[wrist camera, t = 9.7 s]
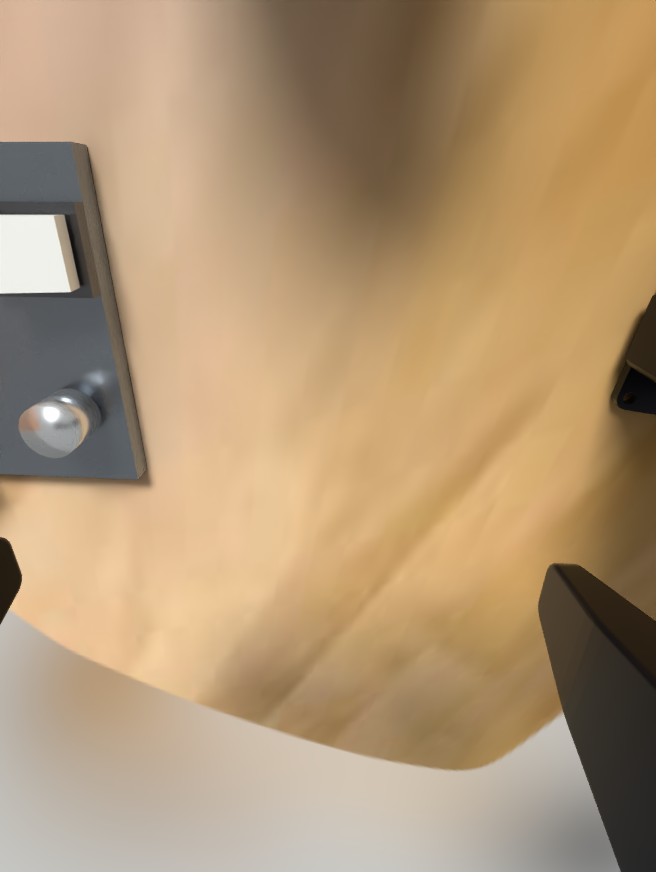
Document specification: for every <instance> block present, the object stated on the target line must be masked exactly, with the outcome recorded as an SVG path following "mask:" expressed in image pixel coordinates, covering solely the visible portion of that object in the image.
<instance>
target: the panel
mask: <svg viewBox="0 0 656 872" xmlns="http://www.w3.org/2000/svg"><path fill="white" fill-rule="evenodd" d="M0 215H64V216H65V220H66V225H67V230H68V234H69V239H70V243H71V248H72V253H73V257H74V262H75V266H76V271H77V276H78V280H79V285H80V288H78V289H76V290H74V291H72V292H54V293H0V474H10V475H35V476H60V477H85V478H110V479H135V480H138V479H139V478H140V477H141V475H142V474H143V473H144V472H145V471H146V469H147V466H146V461H145V455H144V450H143V445H142V439H141V434H140V429H139V423H138V418H137V413H136V407H135V402H134V397H133V391H132V386H131V381H130V375H129V370H128V365H127V359H126V354H125V349H124V343H123V338H122V333H121V327H120V322H119V317H118V311H117V306H116V301H115V295H114V290H113V285H112V279H111V274H110V269H109V263H108V258H107V253H106V247H105V242H104V237H103V231H102V226H101V221H100V215H99V210H98V205H97V199H96V194H95V189H94V183H93V178H92V173H91V167H90V162H89V157H88V151H87V146H86V145H83V144H79V143H74V142H0ZM64 388H73V389H77V390H80V391H82V392H84V393H86V394H87V395H89V396H90V397H91V398H92V399H93V400H94V401H95V403H96V404H97V406H98V408H99V410H100V413H101V423H100V426H99V428H98V429H97V430H96V431H95V432H94V433H93V434H92V435H90V436H89V437H88V438H87V439H86V440H85V441H83V442H82V443H81V444H80V445H79V446H78V447H77V448H75V449H74V450H73V451H72V452H71V453H70V454H68V455H67V456H65V457H61V458H49V457H45V456H42V455H40V454H38V453H36V452H35V451H33V450H32V449H31V448H30V447H29V446H28V445H27V444H26V443H25V442H24V440H23V439H22V437H21V434H20V432H19V419H20V416H21V415H22V414H23V412H24V411H26V410H27V409H29V408H30V407H32V406H34V405H35V404H37V403H39V402H40V401H42V400H43V399H45V398H47V397H48V396H50V395H51V394H53V393H55V392H56V391H58V390H60V389H64Z"/></svg>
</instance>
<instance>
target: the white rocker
mask: <svg viewBox="0 0 656 872" xmlns="http://www.w3.org/2000/svg"><path fill="white" fill-rule="evenodd" d="M78 288H80V285H79V280H78V276H77V271H76V266H75V262H74V257H73V253H72V248H71V243H70V239H69V234H68V230H67V225H66V220H65V216H64V215H0V293H54V292H72V291H74V290H76V289H78Z"/></svg>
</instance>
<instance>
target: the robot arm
mask: <svg viewBox="0 0 656 872" xmlns="http://www.w3.org/2000/svg"><path fill="white" fill-rule="evenodd" d="M626 361H627V362H626V364H625V367H624V369H623V371H622V373H621V376H620V378H619V380H618V382H617V385H616V387H615V389H614V391H613V395H612V400H613V402H614V403H615V404H616V405H617V406H618V407H620V408H622V409H624V410H630V411H636V412H642V413H648V414H655V415H656V294H655V295H653V296H652V298H651V301H650V303H649V305H648V307H647V310H646V312H645V314H644V316H643V319H642V321H641V323H640V325H639V328H638V330H637V332H636V335H635V337H634V339H633V341H632V344H631V346H630V348H629V350H628V353H627V355H626ZM630 392H632V395H631V397H630V398H629V399H627V400H623V398H624V396H625V395H626V394H627V393H630ZM21 582H22V574H21V571H20V568H19V565H18V562H17V560H16V557H15V554H14V551H13V549H12V546H11V544H10V542H9V541H8V540H7V539H5V538H2V537H0V624H1V622H2V621H3V619H4V617H5V615H6V613H7V611H8V610H9V608H10V606H11V604H12V602H13V600H14V598H15V597H16V595H17V593H18V591H19V589H20V586H21ZM538 611H539V617H540V622H541V626H542V630H543V634H544V638H545V642H546V646H547V650H548V654H549V658H550V662H551V666H552V670H553V674H554V678H555V682H556V686H557V690H558V694H559V698H560V701H561V705H562V709H563V712H564V715H565V718H566V721H567V724H568V727H569V730H570V733H571V735H572V738H573V741H574V744H575V746H576V749H577V752H578V755H579V757H580V760H581V763H582V766H583V769H584V771H585V774H586V777H587V780H588V782H589V785H590V788H591V790H592V793H593V796H594V799H595V801H596V804H597V807H598V810H599V813H600V815H601V818H602V821H603V823H604V826H605V829H606V832H607V835H608V837H609V840H610V843H611V845H612V848H613V851H614V854H615V857H616V859H617V862H618V865H619V868H620V871H621V872H656V621H655V620H653V619H652V618H651V617H649V616H648V615H646V614H645V613H644V612H642V611H641V610H640V609H638V608H637V607H636V606H634V605H633V604H631V603H630V602H629V601H627V600H626V599H625V598H623V597H622V596H621V595H619V594H618V593H616V592H615V591H614V590H612V589H611V588H610V587H608V586H607V585H606V584H604V583H603V582H602V581H600V580H599V579H597V578H596V577H595V576H593V575H592V574H591V573H589V572H588V571H587V570H585V569H584V568H582V567H581V566H579V565H576V564H564V563H553V564H551V565H550V566H549V567H548V569H547V572H546V576H545V580H544V583H543V587H542V591H541V594H540V598H539V604H538Z"/></svg>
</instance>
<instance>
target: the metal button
mask: <svg viewBox="0 0 656 872" xmlns="http://www.w3.org/2000/svg"><path fill="white" fill-rule="evenodd" d="M100 423H101V413H100V410H99V408H98V406H97V404H96V403H95V401H94V400H93V399H92V398H91V397H90V396H89V395H87V394H86V393H84V392H82V391H80V390H77V389H73V388H64V389H60V390H58V391H56V392H55V393H53V394H51V395H50V396H48V397H47V398H45V399H43V400H42V401H40V402H39V403H37V404H35V405H34V406H32V407H30V408H29V409H27V410H26V411H24V412H23V414H22V415H21V416H20V419H19V432H20V434H21V437H22V439H23V440H24V442H25V443H26V444H27V445H28V446H29V447H30V448H31V449H32V450H33V451H35V452H36V453H38V454H40V455H42V456H45V457H49V458H61V457H65V456H67V455H68V454H70V453H71V452H72V451H73V450H74V449H75V448H77V447H78V446H79V445H80V444H81V443H82V442H83V441H85V440H86V439H87V438H88V437H89V436H90V435H92V434H93V433H94V432H95V431H96V430H97V429H98V428H99V426H100Z"/></svg>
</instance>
